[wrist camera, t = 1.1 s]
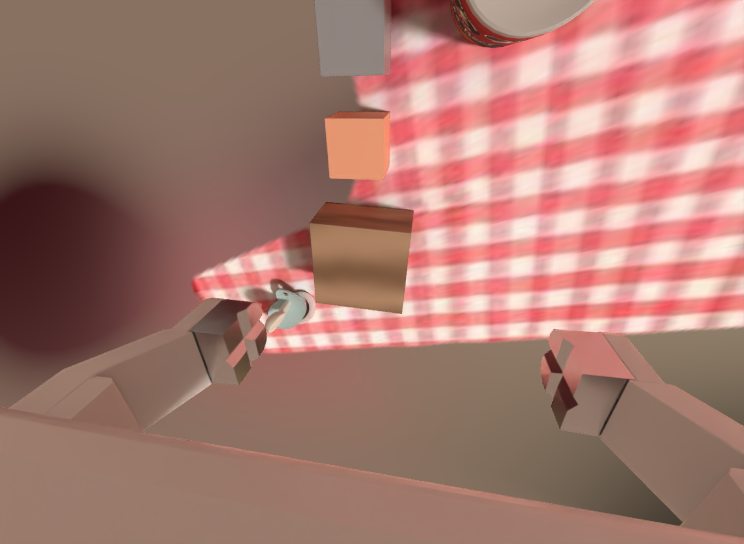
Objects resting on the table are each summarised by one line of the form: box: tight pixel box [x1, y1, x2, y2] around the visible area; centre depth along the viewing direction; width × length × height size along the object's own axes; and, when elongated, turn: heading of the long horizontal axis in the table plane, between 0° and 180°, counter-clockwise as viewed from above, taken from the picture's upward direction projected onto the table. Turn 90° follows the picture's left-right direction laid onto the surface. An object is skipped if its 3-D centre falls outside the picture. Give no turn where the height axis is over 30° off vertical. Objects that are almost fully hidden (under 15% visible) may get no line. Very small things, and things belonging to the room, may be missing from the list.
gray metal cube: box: [314, 0, 392, 76], centre depth 25 cm, size 5×5×5 cm
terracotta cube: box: [325, 112, 390, 180], centre depth 29 cm, size 5×5×5 cm
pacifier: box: [265, 289, 316, 333], centre depth 42 cm, size 7×6×6 cm
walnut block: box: [309, 202, 414, 314], centre depth 36 cm, size 10×10×6 cm
